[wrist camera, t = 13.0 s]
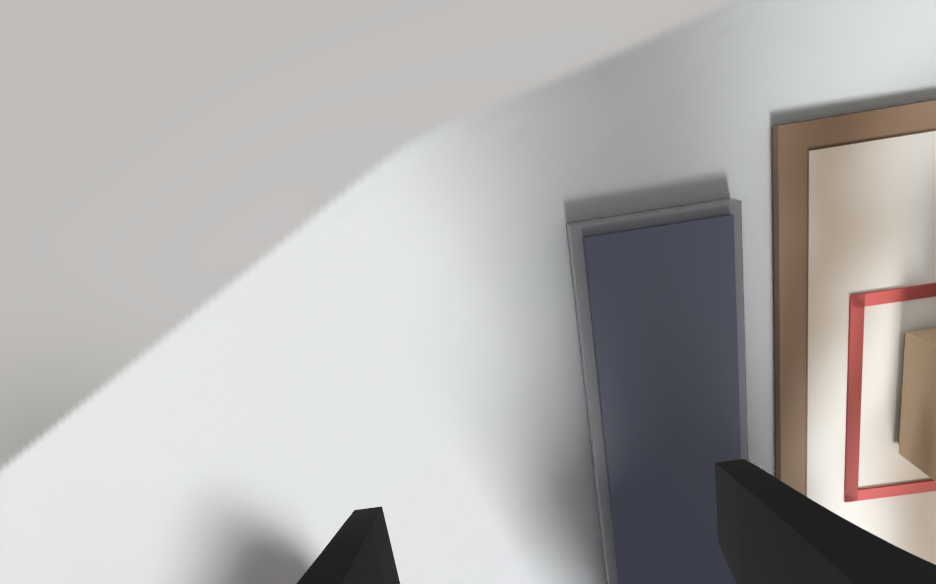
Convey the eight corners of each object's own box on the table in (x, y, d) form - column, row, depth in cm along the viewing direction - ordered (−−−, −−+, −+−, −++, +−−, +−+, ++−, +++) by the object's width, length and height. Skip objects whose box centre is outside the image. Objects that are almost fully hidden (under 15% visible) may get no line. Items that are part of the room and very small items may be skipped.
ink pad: (731, 198, 20) (745, 201, 19) (743, 577, 25) (754, 597, 24) (566, 223, 21) (571, 228, 20) (608, 594, 25) (614, 614, 24)
